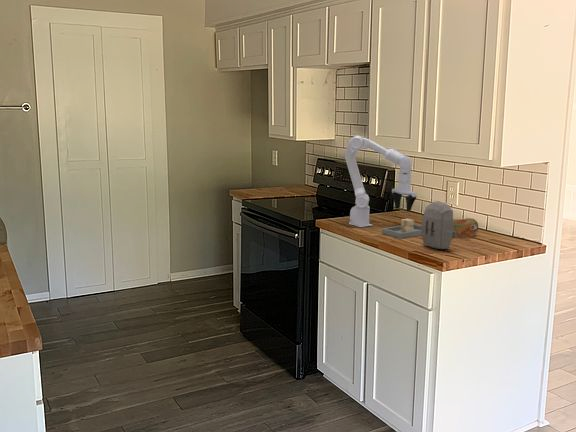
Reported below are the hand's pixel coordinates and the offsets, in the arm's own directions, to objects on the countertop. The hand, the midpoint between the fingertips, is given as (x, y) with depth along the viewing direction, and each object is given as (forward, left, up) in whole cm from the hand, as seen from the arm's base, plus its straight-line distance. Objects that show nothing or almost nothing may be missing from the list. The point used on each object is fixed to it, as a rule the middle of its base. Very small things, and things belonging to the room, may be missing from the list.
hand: (403, 209), depth 277 cm
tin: (+28, +10, -9) cm, 31 cm away
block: (+11, -8, -8) cm, 16 cm away
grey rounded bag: (+36, -17, -9) cm, 41 cm away
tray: (+11, -8, -9) cm, 16 cm away
